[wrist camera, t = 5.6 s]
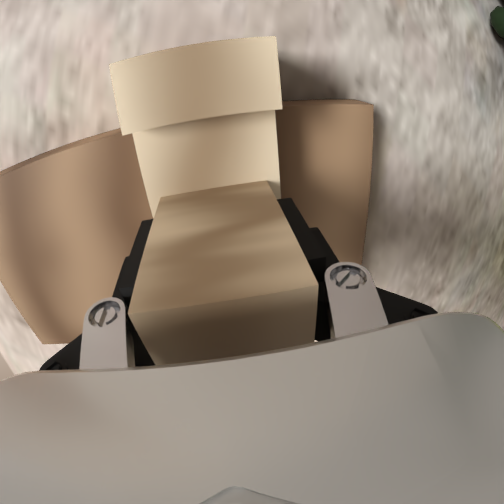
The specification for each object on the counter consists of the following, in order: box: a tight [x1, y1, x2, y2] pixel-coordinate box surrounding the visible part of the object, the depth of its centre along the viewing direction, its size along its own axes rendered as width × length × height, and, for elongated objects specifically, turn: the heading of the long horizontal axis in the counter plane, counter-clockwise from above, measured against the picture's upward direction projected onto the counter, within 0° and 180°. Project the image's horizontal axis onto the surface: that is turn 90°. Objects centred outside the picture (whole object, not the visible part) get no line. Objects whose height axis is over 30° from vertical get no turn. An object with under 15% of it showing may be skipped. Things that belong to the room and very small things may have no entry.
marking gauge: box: [109, 36, 319, 365], centre depth 11 cm, size 5×14×9 cm, turn 5°
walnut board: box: [0, 99, 373, 344], centre depth 15 cm, size 22×12×2 cm, turn 95°
